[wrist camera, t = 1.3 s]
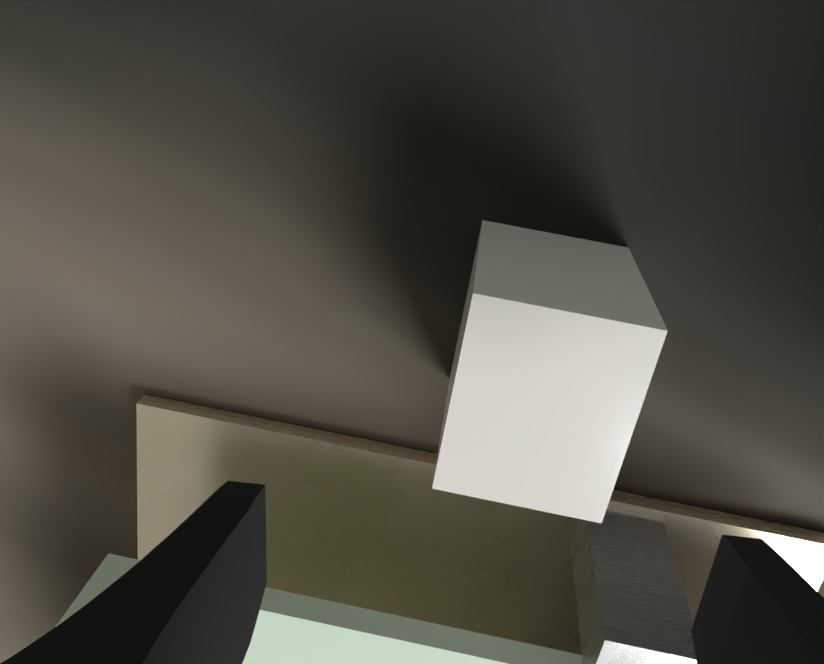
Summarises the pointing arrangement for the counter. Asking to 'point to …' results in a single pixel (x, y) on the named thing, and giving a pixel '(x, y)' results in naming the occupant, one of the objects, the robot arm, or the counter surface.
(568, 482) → the white rectangular block
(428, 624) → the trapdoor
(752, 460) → the counter surface
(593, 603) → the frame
